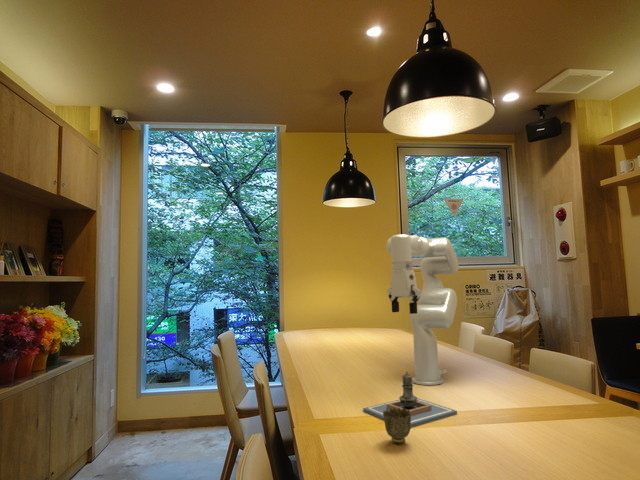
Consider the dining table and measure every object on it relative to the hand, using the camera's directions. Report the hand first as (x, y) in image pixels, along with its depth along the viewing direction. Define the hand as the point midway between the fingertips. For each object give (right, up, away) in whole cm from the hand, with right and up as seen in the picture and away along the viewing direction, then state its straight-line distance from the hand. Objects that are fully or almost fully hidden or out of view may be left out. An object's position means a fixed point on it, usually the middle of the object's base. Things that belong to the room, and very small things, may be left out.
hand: (404, 312), depth 154 cm
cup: (-11, -27, -45) cm, 53 cm away
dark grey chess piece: (-3, -28, -21) cm, 35 cm away
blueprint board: (-3, -29, -21) cm, 36 cm away
